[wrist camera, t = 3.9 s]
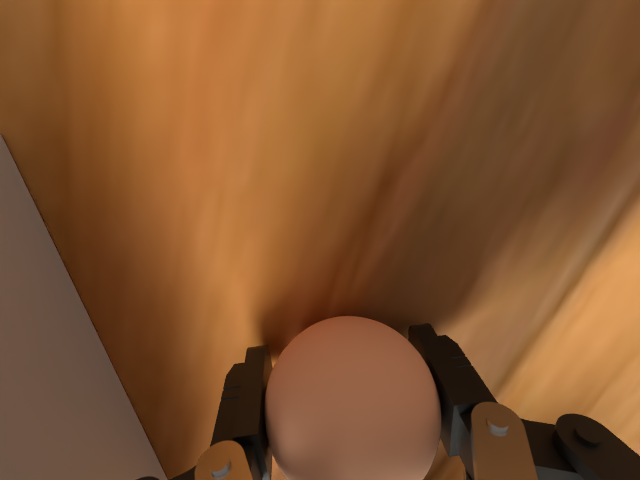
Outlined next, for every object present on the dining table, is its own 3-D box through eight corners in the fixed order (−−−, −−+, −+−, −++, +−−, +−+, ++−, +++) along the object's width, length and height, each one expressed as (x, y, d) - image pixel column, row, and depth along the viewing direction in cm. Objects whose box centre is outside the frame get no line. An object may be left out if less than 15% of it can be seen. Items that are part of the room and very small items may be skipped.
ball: (406, 276, 12) (491, 405, 7) (405, 384, 14) (468, 541, 9) (257, 295, 12) (234, 444, 7) (280, 402, 14) (275, 572, 9)
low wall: (1, 134, 9) (-300, 175, 4) (180, 507, 16) (138, 666, 12) (-59, 141, 9) (-428, 188, 4) (148, 512, 16) (93, 674, 12)
